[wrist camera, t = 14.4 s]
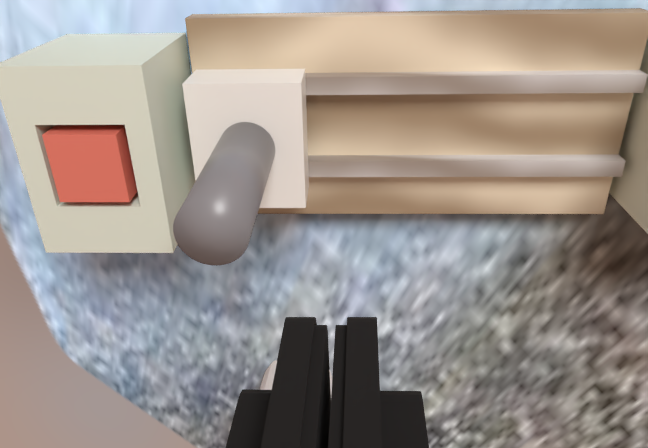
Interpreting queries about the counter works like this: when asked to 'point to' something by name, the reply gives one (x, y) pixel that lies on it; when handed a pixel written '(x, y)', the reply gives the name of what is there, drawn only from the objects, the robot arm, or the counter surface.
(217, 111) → the carriage
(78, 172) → the red block
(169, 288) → the counter surface
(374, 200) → the rail track
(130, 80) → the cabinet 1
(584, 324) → the counter surface
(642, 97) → the cabinet
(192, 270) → the counter surface
